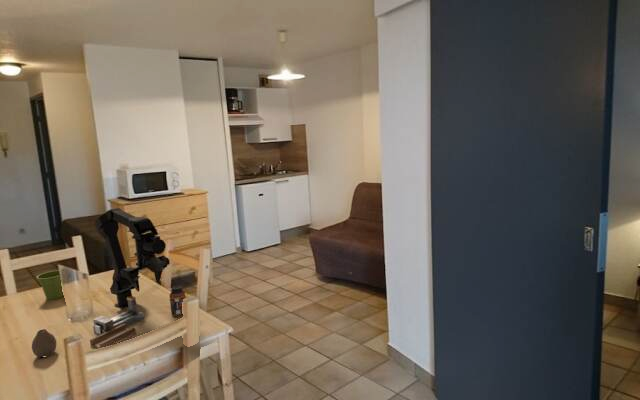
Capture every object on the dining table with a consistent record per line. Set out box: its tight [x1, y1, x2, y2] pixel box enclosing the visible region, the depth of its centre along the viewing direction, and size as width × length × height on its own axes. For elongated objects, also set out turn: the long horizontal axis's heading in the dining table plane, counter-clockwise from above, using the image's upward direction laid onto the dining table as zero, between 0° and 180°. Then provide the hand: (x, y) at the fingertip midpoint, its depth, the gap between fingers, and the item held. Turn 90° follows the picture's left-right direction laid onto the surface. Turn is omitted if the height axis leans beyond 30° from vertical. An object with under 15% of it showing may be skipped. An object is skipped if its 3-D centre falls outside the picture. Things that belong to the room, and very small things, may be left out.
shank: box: [95, 315, 123, 336], centre depth 155 cm, size 3×9×4 cm, turn 147°
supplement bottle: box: [169, 285, 186, 317], centre depth 164 cm, size 6×6×11 cm
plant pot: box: [36, 269, 64, 300], centre depth 190 cm, size 12×12×11 cm
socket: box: [92, 309, 145, 334], centre depth 158 cm, size 8×16×5 cm, turn 149°
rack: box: [89, 324, 137, 349], centre depth 147 cm, size 7×13×2 cm, turn 149°
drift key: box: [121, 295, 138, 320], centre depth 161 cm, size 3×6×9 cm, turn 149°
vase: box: [31, 328, 57, 358], centre depth 138 cm, size 7×7×9 cm
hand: (148, 287), depth 165 cm, fingers open, 9 cm apart
